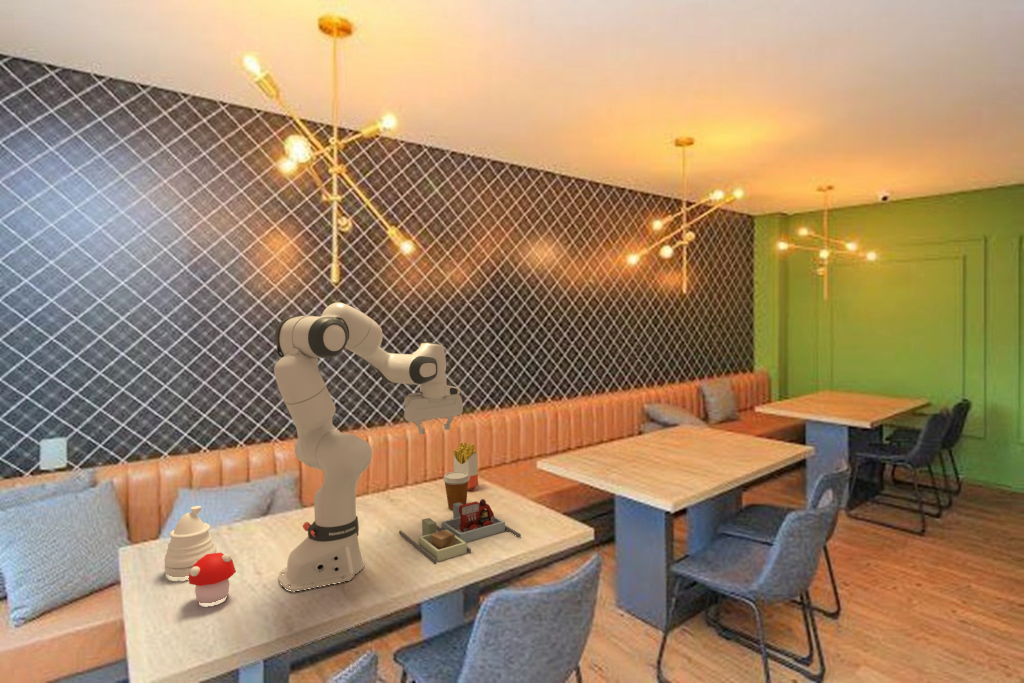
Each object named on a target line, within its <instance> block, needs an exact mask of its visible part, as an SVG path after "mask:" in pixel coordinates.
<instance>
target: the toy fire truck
mask: <svg viewBox="0 0 1024 683" xmlns="http://www.w3.org/2000/svg"><path fill="white" fill-rule="evenodd" d="M459 513H460V520H461V524H460V527H459V530H460V532H461V533H463V532H467V531H470V530H474V529H477V528H481V527H485V526H488V525H492V524H494V516H495V514H494V512H493V510H492V508H491V505H490V504H488V503H487V501H486V499H483V498H482V499H480V500H479V501H472V502H469V503H467V502H466V504H463V505H460V506H459ZM487 516H488V517H487Z"/></svg>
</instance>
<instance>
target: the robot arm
mask: <svg viewBox="0 0 1024 683" xmlns="http://www.w3.org/2000/svg"><path fill="white" fill-rule="evenodd" d="M383 336H384V335H383V330H382V327H381V326H380V325H379V324H378V323H377V321H375V320H374V319H373V318H371V317H370V316H368V315H367V314H365V313H364V312H363V311H360V310H359V309H358V308H355V307H353V306H351V305H349V304H346V303H344V302H333V303H331V304H329V305H328V306H327V307H326V308H325V309H324V310H323V312H322V313H321V316H314V315H300V316H298V315H297V316H296V315H295V316H290V317H287V318H284V319H282V321H280V322H279V323H278V324H277V326H276V327H275V332H274V341H275V345H276V353H277V355H278V356H279V357H280V359H279V360H278V361H277V362H276V363H275V364H274V367H273V372H274V373H273V374H274V377H275V381H276V384H277V388H278V391H279V393H280V395H281V398H282V401H283V402H284V404H285V407H286V408H287V410H288V412H289V415H290V416H291V418H292V420H293V422H294V423H293V424H294V425H295V428H296V429H295V430H296V433H297V439H296V442H295V445H294V454H295V456H296V458H297V460H299V461H300V462H301V463H303V464H305V465H306V466H308V467H309V468H313V469H317V470H320V471H323V476H324V477H323V482H322V485H321V486H320V487H319V488H318V489H317V490H316V491H315V493H314V495H313V508H314V512H313V513H314V521H313V522H312V523H310V522H309V521H305V522H304V523H303V525H302V528H303V529H304V531H305V532H307V537H306V538H305V539H304V540H303V541H302V542H301V543H300V544H299V545H297V546H296V547H295V548H294V549H293V550H292V551H291V552H290V554H289V555H288V558H287V563H286V564H287V565H286V567H285V568H283V569H281V570H280V572H279V573H278V582H279V581H280V583H281V584H282V586H283V587H284V588H286V589H288V590H291V591H297V590H304V589H308V588H313V587H317V586H323V585H328V584H333V583H338V582H344V581H349V582H350V580H351V579H352V578H353V579H354V577H355V576H356V575H357V574H358V573H359V571H360V572H361V571H362V570H363V568H364V567H365V562H364V559H363V556H362V553H361V548H360V544H359V529H360V527H359V519H358V515H357V506H356V504H357V499H356V498H357V497H356V496H357V487H358V482H359V480H360V477H361V475H362V474H363V473H364V472H365V471H366V470H367V469H368V468H369V466H370V465H371V463H372V457H373V450H372V446H371V444H370V443H369V442H368V441H367V440H365V439H363V438H362V437H359V436H358V435H355V434H352V433H351V434H350V433H345V432H341V431H340V432H339V431H338V430H337V429H336V427H335V426H334V424H333V417H334V416H335V414H336V410H337V408H336V405H335V403H334V400H333V398H332V396H331V394H330V392H329V390H328V387H327V385H326V383H325V381H324V379H323V377H322V375H321V373H320V371H319V364H318V363H319V358H321V359H322V358H323V359H329V358H333V357H336V356H338V355H340V354H341V353H342V352H343V351H344V349H347V350H348V351H350V352H352V353H354V354H355V355H356V356H358V357H359V358H360V359H362V360H363V361H364V362H366V363H367V364H368V365H369V366H371V367H373V368H374V369H375V371H377V373H378V375H379V376H380V378H382V380H383V382H385V383H388V384H403V385H417V386H418V385H419V391H418V392H413V393H412V392H411V393H408V394H407V395H405V397H404V400H403V401H404V414H403V415H404V416H403V417H404V419H405V421H406V422H409V423H413V422H414V424H415V426H416V427H417V429H418V434H419V435H423V434H425V433H426V430H425V429H426V428H425V427H422V423H423V422H422V421H427V420H435V419H441V418H442V419H443V418H446V419H447V421H446V423H444V424H443V428H444V430H445V431H448V430H451V424H452V422H453V421H454V416H461V415H462V413H463V412H464V410H463V408H464V406H463V398H462V396H461V395H460V394H461V388H459V387H456V386H453V385H451V384H447V378H446V370H447V362H446V361H447V359H446V353H445V349H444V346H443V345H442V344H441V343H437V342H421V343H420V346H419V348H417V350H416V351H414V352H411V353H409V354H408V353H396V352H387V351H386V350H385V349H383V348H382V347H381V345H382V341H383ZM282 574H284V575H282ZM355 574H356V575H355ZM353 579H352V580H353ZM352 580H351V581H352ZM280 583H279V584H280ZM344 583H345V582H344ZM282 586H281V587H282ZM289 586H290V587H289Z"/></svg>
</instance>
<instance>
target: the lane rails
mask: <svg viewBox="0 0 1024 683" xmlns="http://www.w3.org/2000/svg"><path fill="white" fill-rule="evenodd" d="M436 528H437V532H439V531H442V530H443V529H442V528H441V527H440V526H439V525H437V524H436ZM506 530H507V531H506ZM505 531H506V532H508V531H509V532H511V533H513V534H514V535H513V534H512V535H513V536H515V535H516V536H518V537H522V534H521V533H519V531H516V530H514V529H513V528H511V527H509V526H508V525H506V524H505ZM509 532H508V533H509ZM511 533H510V534H511ZM399 534H400V535H401V538H403V537H404V538H405V539H406V542H408V543H409V544H410V545H411V544H412V545H411V546H413V547H414V548H415V549H417V551H418V552H420V553H421V554H422V555H423V554H424V555H423V556H424V557H425V558H427V559H428V560H429V561H431V562H432V563H433V564H435V565H436V564H437V561H436V558H434V557H433V556H432V555H431V554H429V553H428V552H427V551H426V550H424V549H423V548H422V547H421V546H420V545H419V543H417V542H416V541H415V540H413V539H412V538H411V537H410V536H409V535H408V534H406V533H405V532H403V530H399V531H398V535H399ZM400 535H399V536H400ZM516 536H515V537H516ZM518 537H517V538H518ZM404 538H403V539H404ZM405 539H404V540H405ZM467 553H468V554H471V553H472V549H471V548H470V547H469V546H467Z"/></svg>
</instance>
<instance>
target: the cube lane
mask: <svg viewBox="0 0 1024 683" xmlns="http://www.w3.org/2000/svg"><path fill="white" fill-rule="evenodd" d="M421 525H422V526H421V527H422V533H421V534H422V535H421V536H418V545H420V546H421V547H422V548H423V549H424V550H426V551H427V552H428V553H429V554H431V555H432V556H433V557H434V558H436V563H438V562H441V561H444V560H447V559H451V558H454V557H457V556H461V555H465V554H467V553H468V552H467V547H468V545H467V543H468V542H464V541H463V540H462V539H460V538H459V537H457V536H456V535H455V545H453V546H450V547H446V548H443V549H440V550H438V549H437V548H436V547H434V546H433V545H432V544H431V534H434V533H437V532H438V531H437V528H436V525H437V522H436V521H435V520H433V519H432V518H430V517H426V518H424V519H423V518H422V520H421ZM446 531H448V530H447V529H446ZM448 532H450V531H448Z"/></svg>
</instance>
